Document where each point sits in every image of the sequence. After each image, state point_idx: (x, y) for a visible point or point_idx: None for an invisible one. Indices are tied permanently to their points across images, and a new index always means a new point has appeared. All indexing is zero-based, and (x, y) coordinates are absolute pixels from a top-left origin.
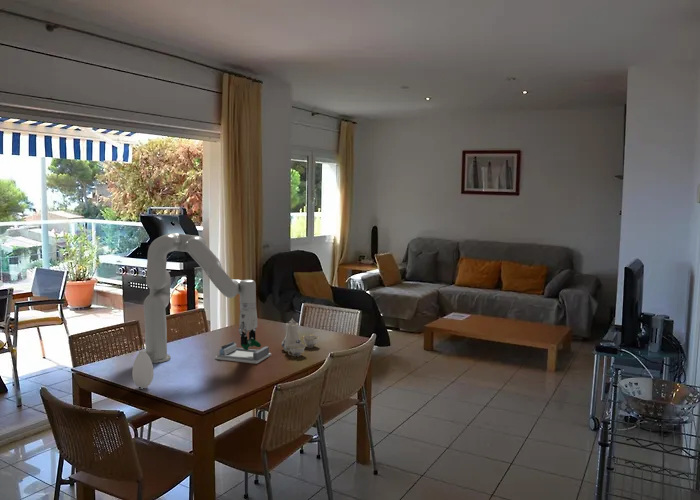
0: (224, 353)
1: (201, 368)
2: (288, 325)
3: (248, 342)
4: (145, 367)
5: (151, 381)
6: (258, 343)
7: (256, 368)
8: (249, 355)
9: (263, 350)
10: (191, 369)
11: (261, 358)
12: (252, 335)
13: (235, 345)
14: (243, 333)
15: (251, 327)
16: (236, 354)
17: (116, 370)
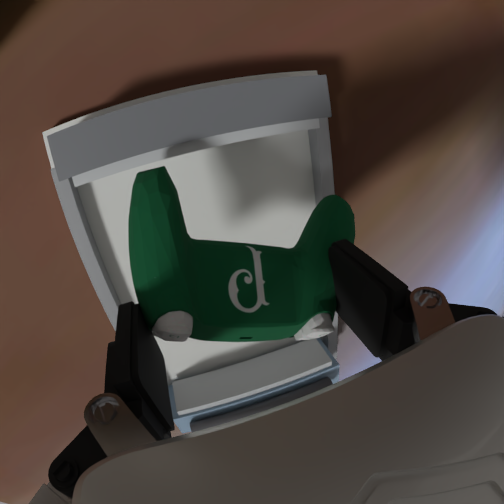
0: (319, 346)
1: (448, 277)
2: None
3: (265, 285)
4: None
5: None
6: (167, 196)
7: (383, 30)
8: (207, 231)
9: (182, 93)
10: (457, 294)
11: (228, 83)
12: (151, 369)
13: (186, 403)
14: (486, 308)
15: (446, 386)
16: None
17: None
